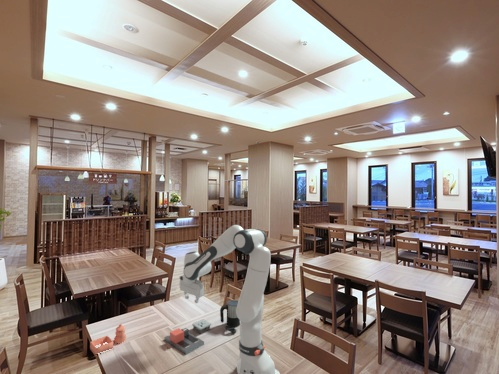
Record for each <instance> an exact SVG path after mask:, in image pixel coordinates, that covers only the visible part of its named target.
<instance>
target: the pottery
mask: <svg viewBox="0 0 499 374" xmlns="http://www.w3.org/2000/svg"><path fill="white" fill-rule="evenodd" d="M125 329H126V327H125V326H124V325H123V324H122V323H121V324H119V325H118V326H117V327H116V328H115V334H114V335H115V336H114V338H113V340H112V338H110V337H109V335H104V336H102V337H100V338H97V339H94V340H91V341H90V342H89V349H90V351H91V352H92V354H93V356H95V357H98V356H97V355H95V354H97V353H100V352H103V351H106V350H109V349H112V348H113V349H114V344H115V343H118V344H117V345H120V344H119V343H121V344H123V343H125V342H126V340H127V336H126V334H125V333H126V330H125ZM124 341H125V342H124ZM105 342H107V343H108V344H105V345H103V343H105ZM122 342H123V343H122ZM99 344H101V346H100V347H98V348H96V347H95V346H96V345H99ZM113 349H112V350H113ZM109 351H110V350H109Z"/></svg>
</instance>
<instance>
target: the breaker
mask: <svg viewBox="0 0 499 374" xmlns="http://www.w3.org/2000/svg"><path fill="white" fill-rule="evenodd" d="M181 329H182V331H184V336H187V335H188V334H189V333H190V331H189V330H190V329H189V328H187V327H185V328H181Z"/></svg>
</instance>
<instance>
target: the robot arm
mask: <svg viewBox="0 0 499 374" xmlns="http://www.w3.org/2000/svg"><path fill="white" fill-rule="evenodd" d="M267 242H268V237H267V234H266V233H265V231H264V230H262V229H258V228H255V229H254V228H249V229H247V228H246V229H244V228H243V227H242V226H241V225H239V224H233V225H231V226H230V227H228V228H227V229H226V230H225V231H224V232H223V233H222V234H220V235H219V237H218V238H216V240H214V242H213V243H212V244H211V245H210V246H208V247H207V249H205V250H204V251H202V252H201V254H200V253H199V252H198V251H190V252H187V253H185V255H184V260H183V263H184V264H183V266H184V267H183V274H182V275H179V290H180V291H182V292H183V294H184V299H186V300H189V298H190V295H192V296H194V297H195V299H194V303H195V304H198V303H199V300H200V298H202V297H204V296H205V287H204V284H203V282H202V281H201V280H200V278H201V277H203V276H205V275H207V274H209V273H210V272H211V271H212V270H213V265H212V261H214V260H216V259H219V258H221V257H224V256H226V255H228V254H231V253H232V252H233V251H234V250H235V249H237V250H238V251H240V252H242V253H243V254H244V255H249V261H248V265H247V269H246V270H247V271H246V275H245V279H244V283H243V286H242V288H241V290H240V291H241V292H240V295H239V298H238V300H237V301H238V305H237V308H236V315H237V317H238V319H239V320H240V325H239V328H240V329H239V342H238V349H239V353H238V354H239V355H238V361H237V366H236V373H237V374H281V373H280V371H279V370H278V369H276V366H275V362H274V360H273V359H272V356H270V354H268V353H267V351H266V350H265V348H266V344H263V340H262V325H263V324H262V323H263V315H264V304H265V303H264V301H265V294H264V293H265V289H266V287H267V282H268V276H269V273H270V268H271V257H272V255H271V251H270V249H269V248H268V247H266V246H265V245H266V244H267Z"/></svg>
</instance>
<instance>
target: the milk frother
mask: <svg viewBox="0 0 499 374" xmlns="http://www.w3.org/2000/svg"><path fill="white" fill-rule="evenodd" d="M238 301H239V300H236V299H231V300H228V301H227V302H226V303H227V304H224V305H222V306H221V307H220V311H219V314H220V315H219V316H220V323H224V321H225V319H224V311H225V310H226V325H225V326H224V328H225V330H226V331H228V332H231V333H236V332H237V329H236V328H238V327H240V324H241V321H240V320H239V319H238V317H237V315H236V308H237V305H238Z"/></svg>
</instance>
